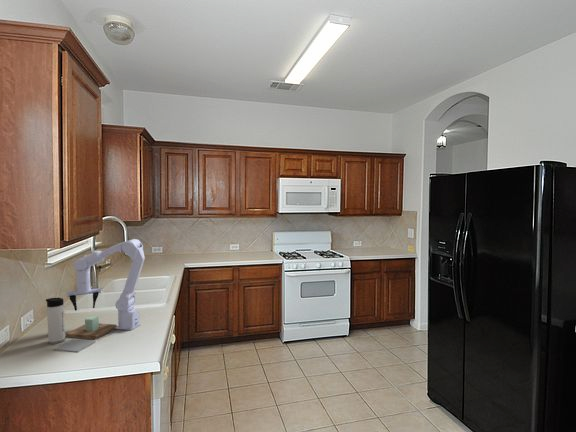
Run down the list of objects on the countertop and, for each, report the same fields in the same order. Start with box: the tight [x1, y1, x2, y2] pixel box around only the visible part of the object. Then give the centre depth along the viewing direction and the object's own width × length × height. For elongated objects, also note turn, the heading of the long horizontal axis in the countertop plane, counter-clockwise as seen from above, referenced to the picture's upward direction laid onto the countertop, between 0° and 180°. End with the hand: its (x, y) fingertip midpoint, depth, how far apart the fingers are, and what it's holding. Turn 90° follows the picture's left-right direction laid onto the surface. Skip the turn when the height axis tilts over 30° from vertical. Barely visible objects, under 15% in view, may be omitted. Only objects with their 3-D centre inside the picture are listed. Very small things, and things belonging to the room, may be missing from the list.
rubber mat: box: [52, 338, 96, 353], centre depth 150 cm, size 12×10×1 cm
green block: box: [84, 315, 99, 332], centre depth 165 cm, size 4×4×7 cm
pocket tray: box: [65, 323, 118, 340], centre depth 165 cm, size 16×14×2 cm
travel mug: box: [45, 297, 66, 345], centre depth 154 cm, size 6×7×20 cm
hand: (84, 308), depth 170 cm, fingers open, 7 cm apart
